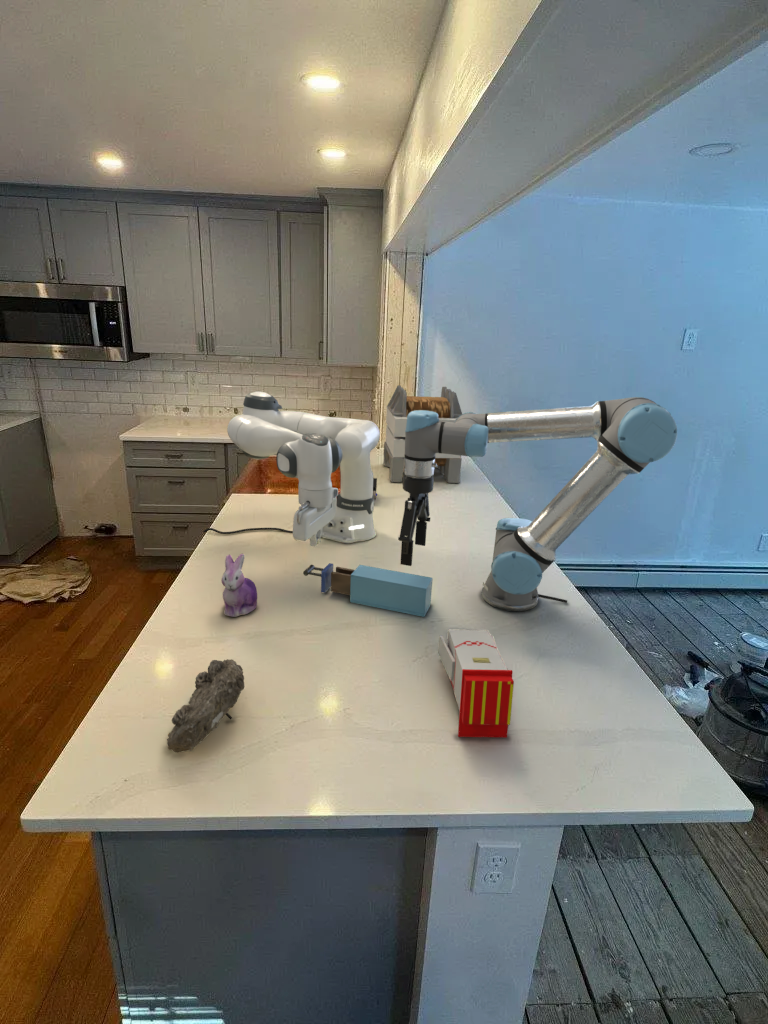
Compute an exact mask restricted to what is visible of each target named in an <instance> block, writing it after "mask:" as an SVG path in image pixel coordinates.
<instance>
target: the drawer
mask: <svg viewBox="0 0 768 1024" xmlns="http://www.w3.org/2000/svg"><path fill="white" fill-rule="evenodd" d="M314 570H315V571H320V573H318V572H313V571H314ZM354 571H355V569H354V568H353V569H352V568H347V567H343V566H336V567H335V571H334V563H332V562H330V563H328V564H326V566H325V567H324V568H322V567H317V566H316V565H314V564H309V566H307V567H306V568H305V569H304V570H303V571H302V574H303V576H305V577H308V576H309V575H310V576H314V577H315V576H316V577H320V593H324V594H325V593H327V592H328V590H329V589H330V592H332V593H337V594H342V595H346V596H350V586H351V574H352V573H353V572H354Z"/></svg>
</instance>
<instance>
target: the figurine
mask: <svg viewBox="0 0 768 1024" xmlns="http://www.w3.org/2000/svg"><path fill="white" fill-rule="evenodd" d="M244 563H245V554H244V553H240V554H239V555H238V556H237V558H236V559H235V560H234V558H233V557H232V555H231V554H227V555H226V556H225V560H224V564H225V565H224V566H225V567H224V568H225V570H224V572H223V574H222V576H221V579H220V580H221V584H222V586H223V587H224V589H223V591H222V599H223V603H224V611H223V613H224V615H225V616H228V617H234V618H236V617H239V616H245V615H248V614H249V613H251V612H253V611H254V610H256V609H257V606H258V590H257V589H258V588H257V586H256V584H255V583H254V581H253V580H252V579H250V578H248V577H245V575H244V573H243V571H242V569H243V566H244Z"/></svg>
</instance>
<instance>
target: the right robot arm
mask: <svg viewBox="0 0 768 1024" xmlns="http://www.w3.org/2000/svg"><path fill="white" fill-rule="evenodd" d="M585 438H592V439H594V440H595V441H596V442H597V446H596V447H597V449H596V451H595V452H594V453H593V454H592V455H591V457H590V458H589V459H588V460H587V461H586V462H585V463H584V464H583V465H582V467H581V468H580V469H579V470H578V471H577V472H576V473H575V474H574V475H573V476H572V477H571V478H570V480H569V481H568V482H567V483H566V484H565V485H564V486H563V487H562V488H561V489H560V490H559V492H558V493H556V495H555V496H554V497H553V498H552V499H551V501H549V502H548V503H547V504H546V506H545V507H544V508H543V509H542V510H541V512H540V513H538V515H537V516H536V517H535V518H534V519H533V520H530V519H526V518H519V517H505V518H500V519H498V521H497V523H496V527H495V537H494V544H493V545H494V546H493V555H492V562H491V565H490V568H491V569H490V572H489V574H488V576H487V578H486V580H485V582H484V581H482V592H481V597H482V599H483V600H484V601H485V602H487V604H489V605H491V606H492V607H495V608H497V609H500V610H503V611H507V612H508V611H509V612H526V611H530V610H532V609H534V608H535V607H536V606H537V605H538V602H539V598H542V599H545V600H551V601H556V602H560V603H564V604H568V599H563V598H559V597H554V596H550V595H546V594H540V593H539V592H538V587H539V586H540V583H541V581H542V579H543V573H544V572H545V571H546V570H547V569H548V568H549V567H550V566H552V564H553V563H554V562H555V561H556V559H557V554H556V552H557V549H559V547H560V546H561V545H562V544H563V543H564V542H565V541H566V540H567V539H568V538H569V537H570V536H571V535H572V534H573V533H574V532H575V531H576V529H577V528H578V527H580V526H581V524H583V523H584V522H585V520H586V519H587V518H588V517H589V516H590V515H591V514H592V513H593V512H594V511H595V510H596V509H597V507H599V506H600V505H601V504H602V503H603V501H604V500H606V498H608V496H610V494H611V493H612V492H614V490H615V489H616V488H617V487H618V486H619V485H620V484H621V483H622V482H623V481H624V480H625V479H626V478H627V477H628V476H629V475H640V473H641V472H642V471H643V470H644V469H645V468H646V467H647V466H648V465H649V464H650V463H653V462H658V461H659V460H661V459H663V458H665V456H667V455H668V454H669V453H670V452H671V451H672V449H673V448H674V446H675V444H676V442H677V440H678V439H677V438H678V426H677V423H676V421H675V418H674V417H673V416H672V414H671V412H669V411H668V410H667V408H665V407H663V406H661V405H660V404H658V403H656V402H655V401H653V400H652V399H649V398H647V397H644V396H643V397H641V396H633V397H632V396H631V397H625V398H618V399H617V398H616V399H609V400H608V399H607V400H598V401H596V402H595V403H594V404H592V405H588V406H586V405H585V406H572V407H571V406H570V407H557V408H556V407H555V408H543V409H541V408H540V409H529V410H528V409H527V410H515V411H514V410H512V411H501V412H499V411H498V412H486V413H475V412H472V411H469V412H464V413H462V415H460V416H459V417H458V418H457V419H456V420H455V422H454V423H452V422H442V421H439V419H438V414H437V413H436V412H433V411H426V410H416V411H412V412H410V413H409V414H408V416H407V424H406V430H405V455H404V468H403V475H402V490H403V491H405V493H408V494H409V497H407V499H406V500H405V501H404V510H403V516H402V521H401V527H400V532H399V536H398V537H397V540H398V541H399V542H401V547H400V548H401V549H400V563H399V564H400V565H403V566H408V567H412V565H413V553H414V545H417V546H422V547H425V546H426V543H427V542H426V540H427V527H428V523H430V522H431V517H430V514H431V513H430V504H429V503H430V501H429V494H430V493H431V492H433V490H434V481H435V477H434V474H435V468H437V464H436V463H434V461H435V454H436V453H443V454H452V455H461V457H469V458H483V457H485V456H486V454H487V449H488V444H492V443H510V442H529V441H546V440H547V441H550V440H564V439H569V440H570V439H585ZM414 533H415V535H414ZM414 536H415V537H414ZM413 538H414V540H413Z"/></svg>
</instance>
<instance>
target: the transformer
mask: <svg viewBox="0 0 768 1024" xmlns="http://www.w3.org/2000/svg"><path fill="white" fill-rule="evenodd" d="M440 393H441V394H440V396H415V395H414V396H413V395H412V396H411V395H407V394H408V393H407V390H406V389H404V388H403V387H402V385H399V384H398V385H397V386H396V388H395V390H394V392H393V394H392V395H391V398H390V400H389V402H388V404H387V405H386V413H385V414H386V415H385V423H386V428H385V438H384V442H383V466H384V467H388V468H389V475H388V476H389V477H388V478H389V480H390V482H391V483H403V476H404V472H403V468H404V455H405V430H406V424H407V416H408V414H409V413H410V412H412V411H416V410H426V411H433V412H436V413H437V414H438V419H439V421H442V422H452V423H454V422H455V420H456V419H457V418H458V417H459V416H460V415H462V414H463V411H462V408H461V405H460V402H459V398H458V395H457V392H455V391H453V390H452V389H451V388H447V386H442V387H441V392H440ZM462 461H463V460H462V456H461V455H452V454H443V453H436V454H435V461H434V463H436V464H437V467H436V468H437V470H438V469H439V473H440V474H441V475H443V478H444V479H445V481H446V482H447V483H449V484H455V483H456V484H459V483H461V472H462Z"/></svg>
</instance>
